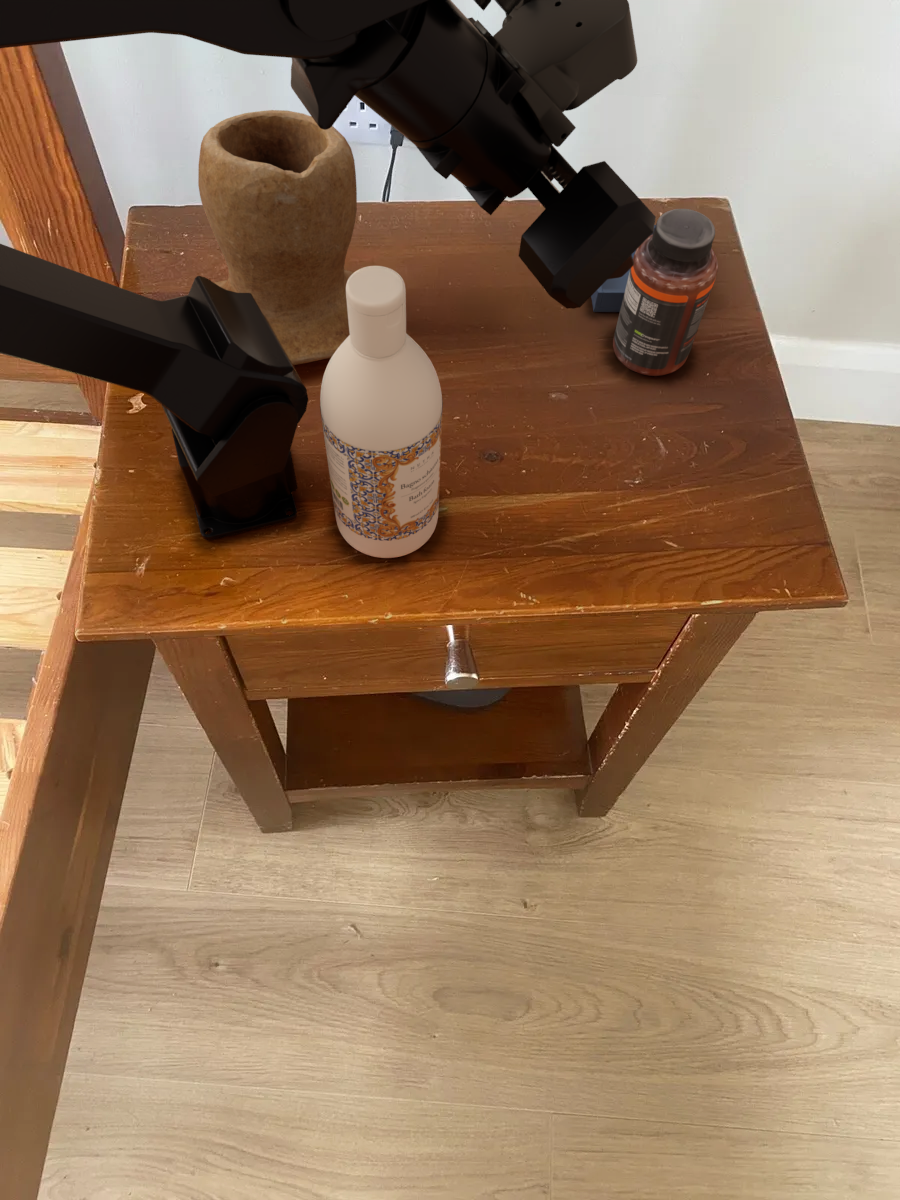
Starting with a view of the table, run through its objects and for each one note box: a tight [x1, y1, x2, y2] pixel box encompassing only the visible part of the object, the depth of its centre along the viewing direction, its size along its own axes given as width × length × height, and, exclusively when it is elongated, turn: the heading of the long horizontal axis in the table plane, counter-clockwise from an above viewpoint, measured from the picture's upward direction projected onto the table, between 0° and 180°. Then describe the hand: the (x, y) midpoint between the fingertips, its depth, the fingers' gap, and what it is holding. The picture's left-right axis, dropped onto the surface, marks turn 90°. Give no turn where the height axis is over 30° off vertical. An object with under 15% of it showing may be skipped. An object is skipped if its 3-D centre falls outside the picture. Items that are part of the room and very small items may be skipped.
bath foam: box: [319, 265, 444, 559], centre depth 52 cm, size 7×7×20 cm
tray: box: [590, 224, 656, 313], centre depth 72 cm, size 8×8×2 cm
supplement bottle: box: [612, 208, 719, 377], centre depth 64 cm, size 6×6×11 cm
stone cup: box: [197, 109, 358, 366], centre depth 62 cm, size 15×12×15 cm
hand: (586, 223), depth 55 cm, fingers open, 9 cm apart
